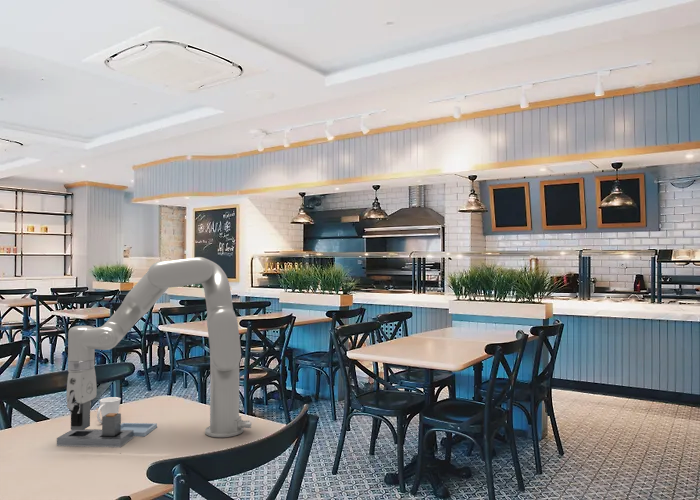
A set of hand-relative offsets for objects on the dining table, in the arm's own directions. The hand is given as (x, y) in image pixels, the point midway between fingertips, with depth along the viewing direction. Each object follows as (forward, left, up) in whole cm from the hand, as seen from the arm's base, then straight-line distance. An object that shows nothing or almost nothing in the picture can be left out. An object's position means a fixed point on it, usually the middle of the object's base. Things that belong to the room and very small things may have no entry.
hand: (80, 423), depth 174 cm
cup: (+2, -21, -7) cm, 22 cm away
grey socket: (-5, 0, -6) cm, 8 cm away
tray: (-12, -11, -6) cm, 17 cm away
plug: (0, 0, -1) cm, 1 cm away
